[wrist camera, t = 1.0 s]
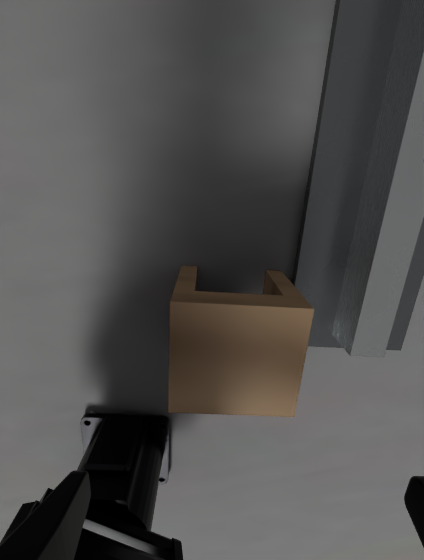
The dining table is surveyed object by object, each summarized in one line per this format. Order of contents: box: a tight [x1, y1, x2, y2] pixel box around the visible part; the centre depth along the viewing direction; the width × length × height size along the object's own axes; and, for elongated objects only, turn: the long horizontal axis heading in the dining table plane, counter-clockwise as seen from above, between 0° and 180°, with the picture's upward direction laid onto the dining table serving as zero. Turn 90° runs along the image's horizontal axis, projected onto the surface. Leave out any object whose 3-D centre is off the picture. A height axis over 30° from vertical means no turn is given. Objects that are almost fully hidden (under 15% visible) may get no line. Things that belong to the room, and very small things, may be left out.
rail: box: [292, 0, 424, 357], centre depth 15 cm, size 22×8×3 cm, turn 177°
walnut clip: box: [168, 266, 314, 417], centre depth 16 cm, size 6×6×6 cm
